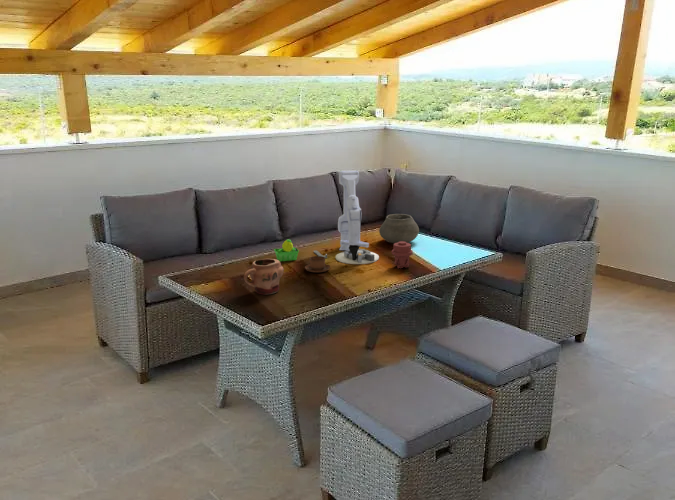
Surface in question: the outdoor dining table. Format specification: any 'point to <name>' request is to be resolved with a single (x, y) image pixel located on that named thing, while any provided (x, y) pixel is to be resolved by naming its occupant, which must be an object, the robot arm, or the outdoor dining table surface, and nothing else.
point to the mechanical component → (402, 254)
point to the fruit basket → (287, 252)
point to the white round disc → (368, 259)
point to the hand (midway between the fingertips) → (354, 259)
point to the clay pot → (399, 228)
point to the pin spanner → (319, 254)
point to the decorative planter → (265, 276)
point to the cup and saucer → (317, 264)
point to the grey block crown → (358, 256)
